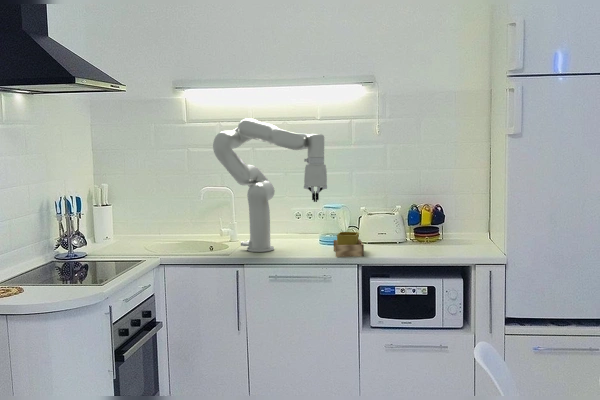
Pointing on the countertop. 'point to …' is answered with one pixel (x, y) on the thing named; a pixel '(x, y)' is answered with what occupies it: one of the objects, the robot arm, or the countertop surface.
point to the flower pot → (348, 238)
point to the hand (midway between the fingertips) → (315, 201)
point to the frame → (349, 249)
